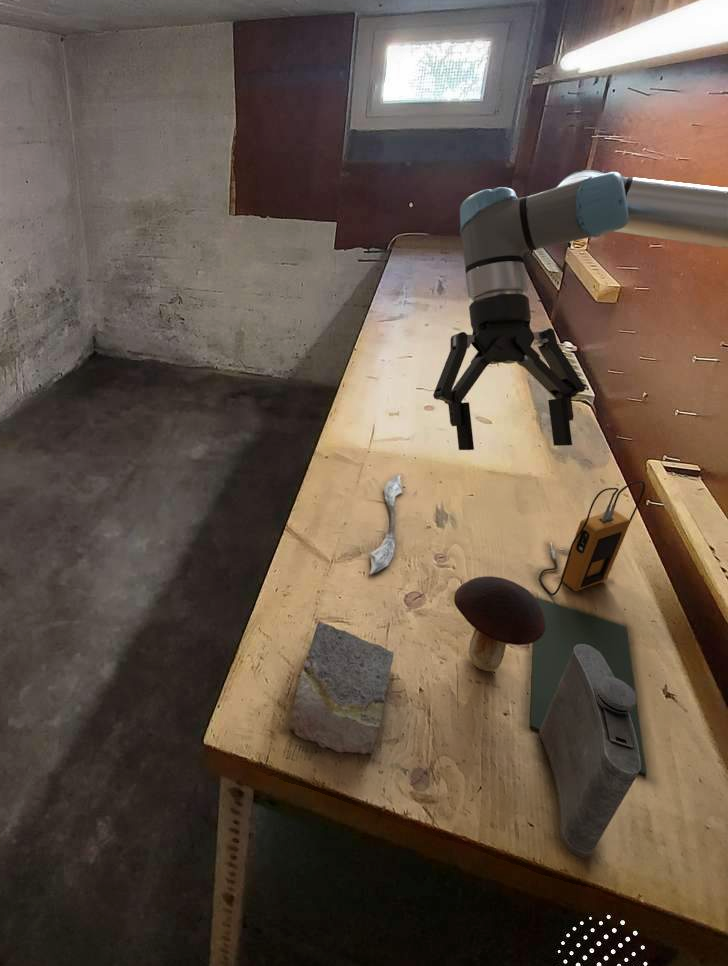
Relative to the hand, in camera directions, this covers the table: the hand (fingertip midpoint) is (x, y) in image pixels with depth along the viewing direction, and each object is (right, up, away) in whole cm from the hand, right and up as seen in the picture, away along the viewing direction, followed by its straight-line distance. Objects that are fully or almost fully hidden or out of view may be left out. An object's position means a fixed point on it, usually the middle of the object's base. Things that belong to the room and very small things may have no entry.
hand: (514, 448), depth 78 cm
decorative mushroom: (-3, -31, +2) cm, 32 cm away
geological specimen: (-25, -34, -2) cm, 42 cm away
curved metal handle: (-7, -18, +30) cm, 36 cm away
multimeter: (+19, -23, +18) cm, 35 cm away
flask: (-1, -38, -12) cm, 40 cm away
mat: (+10, -32, +1) cm, 33 cm away
